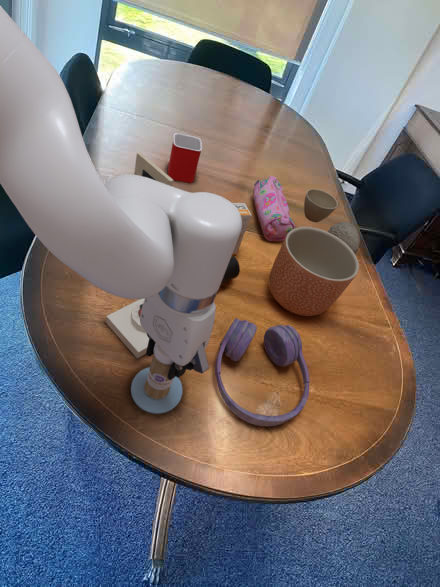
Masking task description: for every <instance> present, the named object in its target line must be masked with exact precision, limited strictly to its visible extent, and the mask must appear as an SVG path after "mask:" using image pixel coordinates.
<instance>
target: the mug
mask: <svg viewBox="0 0 440 587" xmlns="http://www.w3.org/2000/svg"><path fill="white" fill-rule="evenodd" d="M172 138H173V139H172V144H171V150H170V155H169V156H170V157H169V161H168V165H167V175H168V176H169V177H170V178H172V179H173V180H174V181H177V182H182V183H188V184H192V183H194V181H195V178H196V172H197V170H198V165H199V160H200V156H201V154H202V153H201V152H202V151H203V143H202V139H201V138H200V137H197V136H193V135H190V134H186V133H180V132H173V136H172Z"/></svg>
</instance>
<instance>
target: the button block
mask: <svg viewBox="0 0 440 587" xmlns="http://www.w3.org/2000/svg"><path fill="white" fill-rule="evenodd" d="M144 300H145V298H144V299H136V300H135V301H134V302H132V303H130V304H127V305H125V306H123V307H121V308H120V309H117V310H115V311H113V312H112V313H109V314H107V315H106V317H105V324H106V325H107V326H108V327H109V328H110V329H111V330H112V332H113V333H114V334H115V335H116V336H117V338H119V340H120V341H121V342H122V343H123V344H124V346H125V347H127V349H128V350H129V351H130V352H131V353H132V354H133V356H134V357H135V358H136V359H139V358H141V357H143V356H145V355H147V354H146V351H147V346H148V342H149V338H148V336H147V332H146V331H145V330H144V328H143V327H142V325H141V323H140V316H139V313H140V305H141V304H143V303H144Z"/></svg>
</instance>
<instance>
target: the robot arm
mask: <svg viewBox="0 0 440 587" xmlns="http://www.w3.org/2000/svg"><path fill="white" fill-rule="evenodd" d="M78 121H79V120H78V118H77V114H76V111H75V108H74V105H73V102H72V99H71V97H70V94H69V92H68V90H67V87H66V86H65V83H64V81H63V79H62V77H61V76H60V74H59V72H58V71H57V69H56V68H55V66H53V64H52V63H51V62H50V61H49V60H48V59H47V57H46V56H45V55H44V54H43V53H42V52H41V51H40V49H39V48H38V47H37V46H36V45H35V43H34V42H33V41H32V40H31V39H30V38H29V36H28V35H27V34H26V32H24V31H23V30H22V29H21V28H20V27H19V25H18V24H17V23H16V22H15V21H14V19H12V17H11V16H10V15H9V14H8V12H7V11H5V9H4V8H3V6H1V5H0V185H1V187H2V188H3V190H4V192H5V193H6V195H7V197H9V199H10V201H11V202H12V203H13V205H14V206H15V208H16V209H17V211H18V212H19V214H20V216H21V217H22V219H23V220H24V222H25V223H26V225H27V226H28V227H29V228H30V230H31V231H32V232H33V234H34V235H35V236H36V238H37V239H38V240H39V241H40V242H41V243H42V245H43V246H44V247H45V248H46V249H47V250H48V251H49V252H50V253H51V254H52V255H53V256H54V257H56V258H57V259H58V260H59V261H60V262H61V263H62V264H64V265H66V267H68V268H70V269H71V270H72V271H74V272H75V273H76V274H78V275H79V276H80V277H82V278H83V279H84V280H86V281H88V282H89V283H90V284H92V285H93V286H95V287H96V288H98V289H100V290H102V291H103V292H105V293H107V294H109V295H111V296H114V297H118V298H122V299H126V300H139V299H144V298H145V300H144V303H143V304H141V305H140V309H141V314H140V323H141V325H142V327H143V328H144V330H145V331H146V332H147V336H148V338H149V342H148V346H147V351H146V354H145V355H147V357H152V356H153V355H154V347H155V343H157V344H158V346H159V347H160V348H161V349H162V350H163V351H164V352H165V353H166V354H167V355H168V356H169V357H170V358H171V359H172V360H173V361H174V363H173V364H171V366H170V370H169V373H168V376H167V377H168V379H169V380H172V379H173V378H174V377H177V378H179V379H180V377H182V376H183V375H185V373H186V371H194V372H197V373H198V374H201V375H203V374H204V373H205V372H207V371H208V370H209V369H210V366H209V363H208V362H209V361H208V358H207V354H206V349H207V347H208V345H209V342H210V339H211V337H212V332H213V329H214V324H215V320H216V319H215V318H216V307H217V306H216V303H215V299H216V297H217V294H218V292H219V290H220V287H221V285H222V284H221V281H222V279H223V276H224V274H225V271H226V269H227V266H228V264H229V261H230V259H231V257H233V255H232V253H233V251H234V248H235V246H236V243H237V241H238V238H239V236H240V232H241V229H242V218H241V215H240V213H239V211H238V209H237V208H236V207H235V206H234V205H233V204H232V203H233V202H232V201H230V200H228V199H227V198H225V197H224V196H222V195H219V194H217V193H212V192H208V191H197V192H190V191H188V190H183V189H181V188H178V187H175V186H169V185H166V184H164V183H161V182H158V181H156V180H153V179H150V178H147V177H143V176H139V175H134V174H130V173H129V174H128V173H127V174H119V175H116V176H114V177H112V178H110V179H109V180H107V181H106V182H105V183H104V181H103V180H102V178H101V176H100V175H99V173H98V170H97V169H96V167H95V165H94V163H93V160H92V158H91V156H90V153H89V151H88V149H87V146H86V144H85V140H84V137H83V134H82V130H81V128H80V125H79V122H78ZM220 284H221V285H220Z"/></svg>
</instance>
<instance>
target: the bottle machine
mask: <svg viewBox="0 0 440 587" xmlns="http://www.w3.org/2000/svg"><path fill="white" fill-rule="evenodd" d="M133 175H139V176H143V177H147V178H150V179H153V180H156V181H158V182H161V183H164V184H166V185H169V186H172V187H174V181H175V180H173V179H172V178H170V177H169V176H168V173H166V172H165V171H164V170H162V169H161V168H160V167H159V166H158V165H156V164H155V163H154V162H153V161H152V160H150V159H149V158H148V157H147V156H145V155H144V154H143V153H142V152H141V151H139V152H136V158H135V166H134V173H133Z"/></svg>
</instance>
